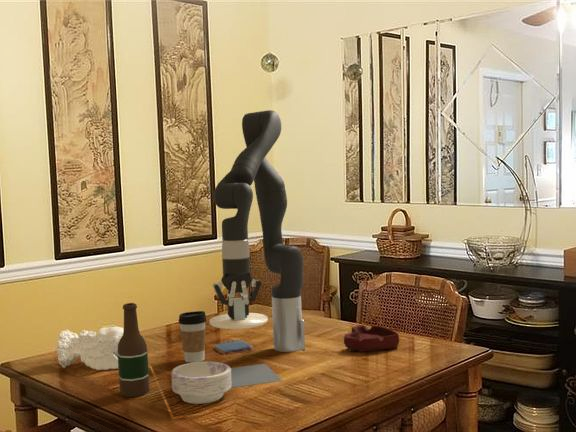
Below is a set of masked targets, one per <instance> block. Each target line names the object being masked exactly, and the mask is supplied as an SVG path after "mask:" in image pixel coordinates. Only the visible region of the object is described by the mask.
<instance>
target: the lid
mask: <svg viewBox="0 0 576 432" xmlns="http://www.w3.org/2000/svg"><path fill="white" fill-rule="evenodd" d="M233 306H234V319H231V318H230V317H229V316H228V313H224V314H219V315H216V316H213V317H211V318H210V319H209V325H210V326H211V327H214V328H217V329H225V330H241V329H250V328H257V327H260V326H263V325H265V324H267V323H268V322H269V321H268V320H269V318H268V316H267V315H266V314H263V313H257V312H249V315H248V316H247V318H245V300H244V299H243V298H242V297H237V298H235V297H234V300H233Z"/></svg>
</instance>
